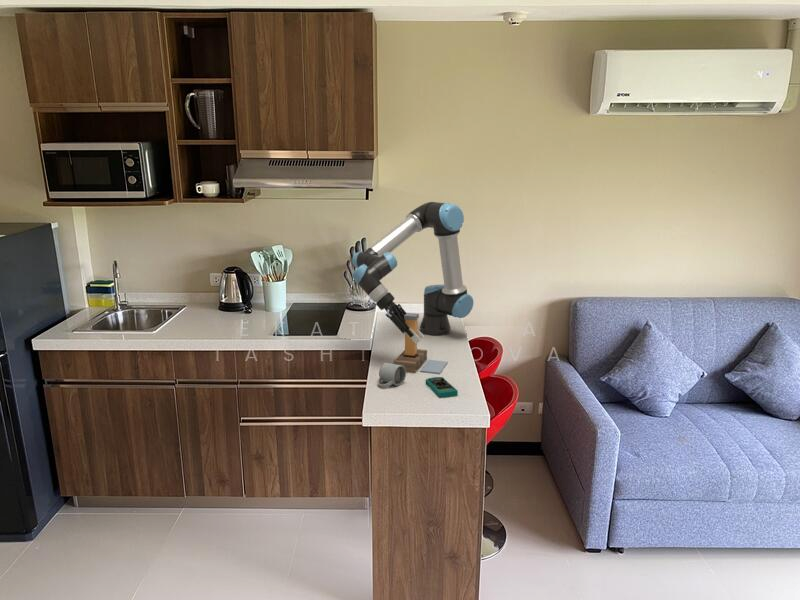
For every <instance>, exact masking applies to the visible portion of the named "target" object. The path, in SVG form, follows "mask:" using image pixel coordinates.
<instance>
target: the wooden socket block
mask: <svg viewBox="0 0 800 600" xmlns="http://www.w3.org/2000/svg"><path fill="white" fill-rule="evenodd" d="M427 360H428V350H427V349H419V348H417V353H416V354H415V355H414V356H412V355H405V349H404V350H403V351H402V352H401V353H400V354H399V355H398V356H397V357H396V358H395V359H393V364H396V365H402V366H404V368H405V370H406V373H410V374H416V373H417V371H419V369H420V368H422V367H423V364H424V363H425V362H427Z"/></svg>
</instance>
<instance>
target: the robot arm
mask: <svg viewBox="0 0 800 600" xmlns="http://www.w3.org/2000/svg"><path fill="white" fill-rule="evenodd" d="M464 217H465V216H464V212H463V210H462V209H461V207H460V206H458V205H456V204H454V203H450V202H435V201H429V202H428V201H427V202H426V203H422V204H421V205H419V206H417V207H416V208H414V209H413V210H412V211H410V212H409V213H408V214H407V215H406V216H405V219H404V220H403V221H401V222H399V224H397V225H396V226H394V228H392V229H391V230H390V231H388V232H387V233H386V234H385V235H384V236H382V237H381V238H379V240H377V241H376V242H375V243H373V244H372V245H371V246H369V248H367V249H366V250H364V251H357V252H355V253H354V254H353V256H352V259H351V262H352V266H353V267H355V270H353V272H352V275H351V276H352V277H351V278H352V279H353V280H354V282H355V283H356V284H357V285H358V287H360V288H361V290H363V291H364V292H365V294H366V295H367V296H368V297H369V299H370V300H372V302H374V303H375V304H376V305H375V306H377V307H378V308H379V310H380V311H383V310H385V312H386V314H385V316H386V317H387V319H389V320H390V321H391V322H392V323H393V325H394V326H395V327H396V328H397V329H398V330H399V331H400V332H402V334H405V332H406V334H407V335H408V336H409V337H410V338H411V339H412V340H413V341H414V343H415V344H417V345H418V343H419V342H420V341H422V339H423V338H424V337H425V336H424V333H426V334H425V335H428V334H433V335H432V336H438V335H437V334H445V335H448V334H450V333H451V325H450V321H449V317H448V316H452V317H454V318H459V319H464V318H465V317H468V316H469V314H470V313H471V311H472V310H473V307H474V299H473V297H472V296H471V295H470V294H468V290H467V289H468V288H467V286H466V285H465V284H463V283H464V282H463V276H462V267H461V265H462V264H461V257H460V249H459V242H458V235H459V234H460V232H461V229H462V227H463V224H464V221H465V218H464ZM428 228H431V229H432V230H433V234H434V236H435V237H436V238H437V240H438V247H439V248H438V249H439V254H440V255H439V256H440V262H441V270H442V278H443V284H432V285H427V286H426V287H424V292H423V317H422V320H421V322H420V326H419V329H418V328H417V334H416V333H415V332H414V331H413V330H412V329H411V328H409V327H408V326H407V324H406V323H405V319H404V315H406V314H407V313H408V312H406V311H405V309H404V308H403V306H402V305H401V304H400V303H398V304H397V303H395V302H394V300H395V299H396V298H395V297H394V295H393V294H392V293H391V292H390V291H389V290H388V288H387V287H386V286H385V285H384V284H383V283H382V281H381V280H382V279H383V278H385V277H386V276H387V275H388V274H389V273H391V272H392V271H393V270H394V269H395V268H396V267H397V266H398V260H397V257H396V256H395V255H394V254H393V253H392V252H393V251H394V250H396V249H397V248H398V247H399V246H401V245H402V244H403V243H404V242H405V241H406V240H408V239H409V238H410V237H412V236H413V235H415V233H419V232H421V231H423V230H424V229H428ZM420 331H421V332H420ZM422 332H423V333H422ZM449 332H450V333H449ZM447 333H448V334H447Z"/></svg>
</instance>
